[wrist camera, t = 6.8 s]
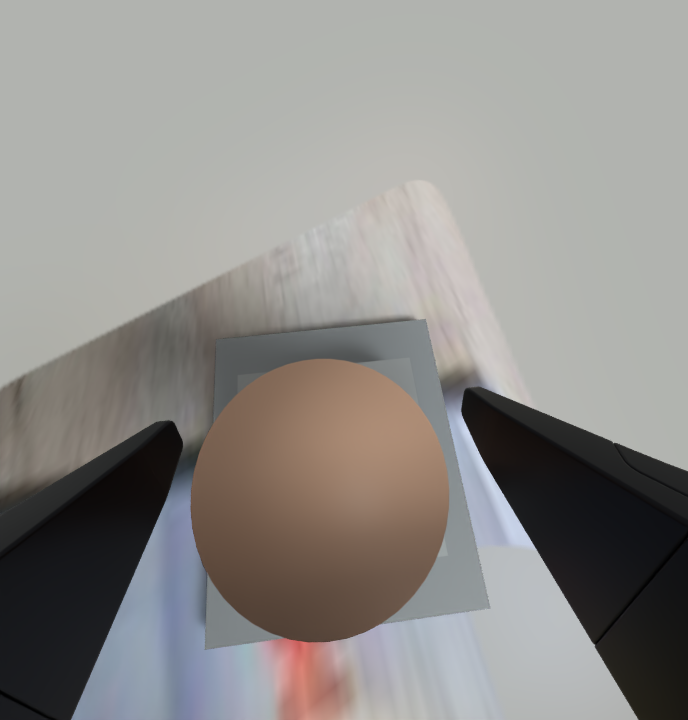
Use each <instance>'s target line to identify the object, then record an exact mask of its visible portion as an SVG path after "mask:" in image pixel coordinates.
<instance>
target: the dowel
mask: <svg viewBox="0 0 688 720" xmlns="http://www.w3.org/2000/svg"><path fill="white" fill-rule="evenodd" d="M448 512H449V482H448V473H447V467H446V463H445V459H444V454H443V451H442V449H441V446H440V443H439V440H438V437H437V435H436V433H435V431H434V429H433V427H432V425H431V423H430V422H429V420H428V419H427V417H426V416H425V414H424V413H423V411H422V409H421V408H420V407H419V406H418V405H417V403H416V402H415V401H414V400H413V399H412V398H411V396H410V395H408V394H407V393H406V392H405V391H404V390H403V389H402V388H401V387H400V386H399V385H397V384H396V383H394V382H393V381H392V380H390V379H389V378H388V377H386V376H384V375H382V374H380V373H379V372H377V371H375V370H373V369H370V368H368V367H365V366H363V365H360V364H356V363H353V362H349V361H344V360H336V359H311V360H303V361H298V362H294V363H290V364H287V365H284V366H282V367H279V368H276V369H274V370H272V371H270V372H268V373H266V374H264V375H262V376H260V377H259V378H257V379H256V380H254V381H253V382H252V383H250V384H249V385H247V386H246V387H245V388H244V389H243V390H241V391H240V392H239V393H238V394H237V395H236V396H235V397H234V398H233V399H232V400H231V401H230V402H229V403H228V404H227V406H226V407H225V408H224V409H223V410H222V412H221V413H220V415H219V416H218V417H217V419H216V420H215V422H214V423H213V425H212V427H211V429H210V431H209V432H208V434H207V436H206V438H205V440H204V443H203V445H202V448H201V450H200V453H199V456H198V459H197V463H196V466H195V470H194V475H193V482H192V488H191V519H192V529H193V533H194V538H195V542H196V547H197V550H198V552H199V555H200V558H201V561H202V563H203V566H204V568H205V570H206V572H207V573H208V575H209V577H210V579H211V581H212V583H213V584H214V586H215V587H216V588H217V590H218V591H219V593H220V594H221V595H222V597H223V598H224V599H225V600H226V601H227V602H228V603H229V604H230V605H231V606H232V607H233V608H234V609H235V610H236V611H237V612H238V613H239V614H240V615H242V616H243V617H244V618H246V619H247V620H248V621H250V622H251V623H252V624H254V625H256V626H258V627H260V628H262V629H263V630H265V631H267V632H269V633H272V634H275V635H278V636H281V637H284V638H287V639H291V640H297V641H304V642H330V641H336V640H341V639H347V638H350V637H353V636H355V635H358V634H361V633H364V632H366V631H368V630H370V629H372V628H374V627H376V626H378V625H379V624H381V623H383V622H384V621H386V620H387V619H388V618H390V617H391V616H392V615H394V614H395V613H396V612H398V611H399V610H400V609H401V608H402V607H403V606H404V605H405V604H406V603H407V602H408V601H409V600H410V599H411V598H412V597H413V596H414V594H415V593H416V592H417V590H418V589H419V588H420V586H421V585H422V584H423V582H424V581H425V579H426V578H427V576H428V574H429V572H430V570H431V569H432V567H433V565H434V563H435V561H436V558H437V556H438V553H439V551H440V548H441V546H442V542H443V538H444V534H445V531H446V527H447V519H448Z"/></svg>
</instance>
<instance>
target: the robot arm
mask: <svg viewBox="0 0 688 720" xmlns="http://www.w3.org/2000/svg"><path fill="white" fill-rule="evenodd" d="M461 412H462V416H463V419H464V421H465V423H466V425H467V427H468V429H469V432H470V434H471V436H472V438H473V440H474V442H475V445H476V447H477V449H478V451H479V453H480V455H481V457H482V459H483V461H484V463H485V464H486V466H487V468H488V469H489V471H490V473H491V474H492V476H493V478H494V479H495V481H496V483H497V484H498V486H499V488H500V489H501V491H502V493H503V494H504V496H505V498H506V499H507V501H508V503H509V504H510V506H511V508H512V509H513V511H514V513H515V514H516V516H517V518H518V519H519V521H520V523H521V524H522V526H523V528H524V529H525V531H526V533H527V534H528V536H529V538H530V539H531V541H532V543H533V544H534V546H535V548H536V549H537V551H538V553H539V554H540V556H541V558H542V559H543V561H544V563H545V564H546V566H547V568H548V569H549V571H550V572H551V574H552V576H553V578H554V579H555V581H556V583H557V584H558V586H559V587H560V589H561V591H562V593H563V594H564V596H565V598H566V599H567V601H568V603H569V604H570V606H571V608H572V609H573V611H574V613H575V614H576V616H577V618H578V619H579V621H580V623H581V624H582V626H583V628H584V629H585V631H586V633H587V634H588V636H589V638H590V639H591V641H592V642H593V644H595V648H596V650H597V651H598V653H599V655H600V656H601V658H602V660H603V661H604V663H605V665H606V666H607V668H608V670H609V671H610V673H611V675H612V676H613V678H614V680H615V681H616V683H617V685H618V686H619V688H620V690H621V691H622V693H623V695H624V696H625V698H626V700H627V701H628V703H629V705H630V706H631V708H632V710H633V711H634V713H635V715H636V716H637V718H638V720H688V471H686V470H683V469H680V468H678V467H675V466H672V465H670V464H667V463H664V462H662V461H659V460H657V459H654V458H652V457H649V456H647V455H644V454H642V453H639V452H637V451H634V450H632V449H629V448H627V447H625V446H622V445H620V444H618V443H613V442H612V441H610V440H607V439H605V438H603V437H600V436H598V435H595V434H593V433H591V432H588V431H586V430H583V429H581V428H578V427H576V426H574V425H571V424H569V423H566V422H564V421H561V420H559V419H556V418H554V417H552V416H549V415H547V414H545V413H542V412H540V411H537V410H535V409H532V408H530V407H528V406H525V405H523V404H520V403H518V402H515V401H513V400H511V399H508V398H506V397H503V396H501V395H499V394H496V393H494V392H491V391H489V390H486V389H484V388H482V387H469V388H466V389H465V391H464V395H463V401H462V408H461ZM182 449H183V441H182V438H181V436H180V434H179V432H178V430H177V427H176V425H175V423H174V422H173V421H170V420H168V421H159V422H155V423H154V424H152V425H150V426H149V427H147V428H145V429H144V430H142V431H140V432H139V433H137V434H135V435H134V436H132V437H130V438H129V439H127V440H125V441H124V442H122V443H120V444H119V445H117V446H115V447H114V448H112V449H110V450H108V451H107V452H105V453H103V454H102V455H100V456H98V457H97V458H95V459H93V460H92V461H90V462H88V463H87V464H85V465H83V466H82V467H80V468H78V469H77V470H75V471H73V472H72V473H70V474H68V475H67V476H65V477H63V478H62V479H60V480H58V481H57V482H55V483H53V484H52V485H50V486H48V487H47V488H45V489H43V490H42V491H40V492H38V493H37V494H35V495H33V496H32V497H30V498H28V499H27V500H25V501H23V502H22V503H20V504H18V505H17V506H15V507H13V508H11V509H10V510H8V511H6V512H5V513H3V514H1V515H0V720H71V719H72V716H73V714H74V712H75V709H76V707H77V705H78V702H79V700H80V698H81V695H82V693H83V691H84V689H85V686H86V684H87V682H88V679H89V677H90V675H91V672H92V670H93V668H94V665H95V663H96V661H97V658H98V656H99V654H100V651H101V649H102V647H103V645H104V642H105V640H106V638H107V635H108V633H109V631H110V628H111V626H112V624H113V621H114V619H115V617H116V614H117V612H118V610H119V608H120V605H121V603H122V601H123V598H124V596H125V594H126V591H127V589H128V587H129V584H130V582H131V580H132V577H133V575H134V573H135V571H136V568H137V566H138V564H139V561H140V559H141V557H142V554H143V552H144V550H145V547H146V545H147V543H148V540H149V538H150V536H151V533H152V531H153V529H154V527H155V524H156V522H157V520H158V517H159V515H160V513H161V510H162V508H163V506H164V503H165V501H166V498H167V496H168V493H169V490H170V487H171V484H172V481H173V477H174V474H175V471H176V468H177V465H178V462H179V458H180V455H181V452H182Z"/></svg>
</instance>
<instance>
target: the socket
mask: <svg viewBox="0 0 688 720" xmlns="http://www.w3.org/2000/svg"><path fill="white" fill-rule="evenodd" d="M311 359H336V360H344V361H349V362H353V363H356V364H360V365H363V366H365V367H368V368H370V369H373V370H375V371H377V372H379V373H380V374H382V375H384V376H386V377H388V378H389V379H390V380H392V381H393V382H394V383H396V384H397V385H399V386H400V387H401V388H402V389H403V390H404V391H405V392H406V393H407V394H408V395H410V396H411V398H412V399H413V400H414V401H415V402H416V403H417V405H418V406H419V407H420V408H421V409H422V411H423V413H424V414H425V416H426V417H427V419H428V420H429V422H430V423H431V425H432V427H433V429H434V431H435V433H436V435H437V437H438V440H439V443H440V446H441V449H442V451H443V454H444V459H445V463H446V467H447V473H448V482H449V512H448V519H447V527H446V531H445V534H444V538H443V542H442V546H441V548H440V551H439V553H438V556H437V558H436V561H435V563H434V565H433V567H432V569H431V570H430V572H429V574H428V576H427V578H426V579H425V581H424V582H423V584H422V585H421V586H420V588H419V589H418V590H417V592H416V593H415V594H414V596H413V597H412V598H411V599H410V600H409V601H408V602H407V603H406V604H405V605H404V606H403V607H402V608H401V609H400V610H399V611H398V612H396V613H395V614H394V615H392V616H391V617H390V618H388V619H387V620H386V621H384V622H383V623H381V624H386V623H393V622H399V621H406V620H413V619H420V618H427V617H434V616H441V615H448V614H455V613H462V612H469V611H475V610H482V609H489V608H490V605H489V600H488V596H487V591H486V587H485V582H484V578H483V573H482V569H481V564H480V560H479V555H478V551H477V546H476V542H475V537H474V533H473V528H472V524H471V519H470V515H469V510H468V506H467V501H466V497H465V492H464V488H463V483H462V479H461V475H460V470H459V466H458V461H457V457H456V452H455V448H454V443H453V439H452V434H451V430H450V425H449V421H448V416H447V412H446V407H445V403H444V398H443V394H442V389H441V385H440V381H439V376H438V372H437V367H436V363H435V358H434V354H433V349H432V345H431V340H430V336H429V331H428V327H427V322H426V319H422V320H412V321H401V322H391V323H380V324H370V325H360V326H349V327H339V328H329V329H318V330H308V331H297V332H287V333H277V334H266V335H256V336H245V337H235V338H225V339H216V356H215V383H214V411H213V423H214V422H215V420H216V419H217V417H218V416H219V415H220V413H221V412H222V410H223V409H224V408H225V407H226V406H227V404H228V403H229V402H230V401H231V400H232V399H233V398H234V397H235V396H236V395H237V394H238V393H239V392H240V391H241V390H243V389H244V388H245V387H246V386H247V385H249V384H250V383H252V382H253V381H254V380H256V379H257V378H259V377H260V376H262V375H264V374H266V373H268V372H270V371H272V370H274V369H276V368H279V367H282V366H284V365H287V364H290V363H294V362H298V361H303V360H311ZM282 638H284V637H281V636H278V635H275V634H272V633H269V632H267V631H265V630H263V629H262V628H260V627H258V626H256V625H254V624H252V623H251V622H250V621H248V620H247V619H246V618H244V617H243V616H242V615H240V614H239V613H238V612H237V611H236V610H235V609H234V608H233V607H232V606H231V605H230V604H229V603H228V602H227V601H226V600H225V599H224V598H223V597H222V595H221V594H220V593H219V591H218V590H217V588H216V587H215V586H214V584H213V583H212V581H211V579H210V577H209V575H208V574H207V601H206V629H205V650H206V649H213V648H220V647H227V646H234V645H241V644H248V643H254V642H261V641H268V640H275V639H282Z"/></svg>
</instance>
